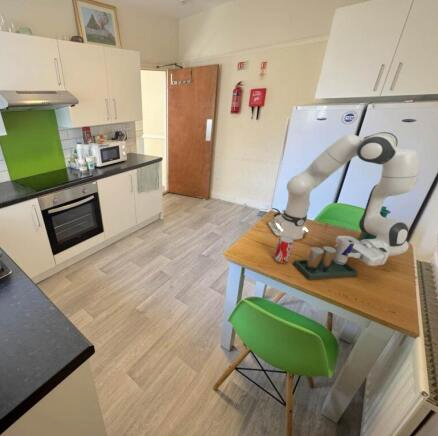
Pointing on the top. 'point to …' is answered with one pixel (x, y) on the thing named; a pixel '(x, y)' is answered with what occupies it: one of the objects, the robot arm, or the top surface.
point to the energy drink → (343, 250)
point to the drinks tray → (333, 271)
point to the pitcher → (369, 236)
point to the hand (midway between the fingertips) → (341, 250)
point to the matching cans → (320, 259)
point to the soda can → (283, 249)
